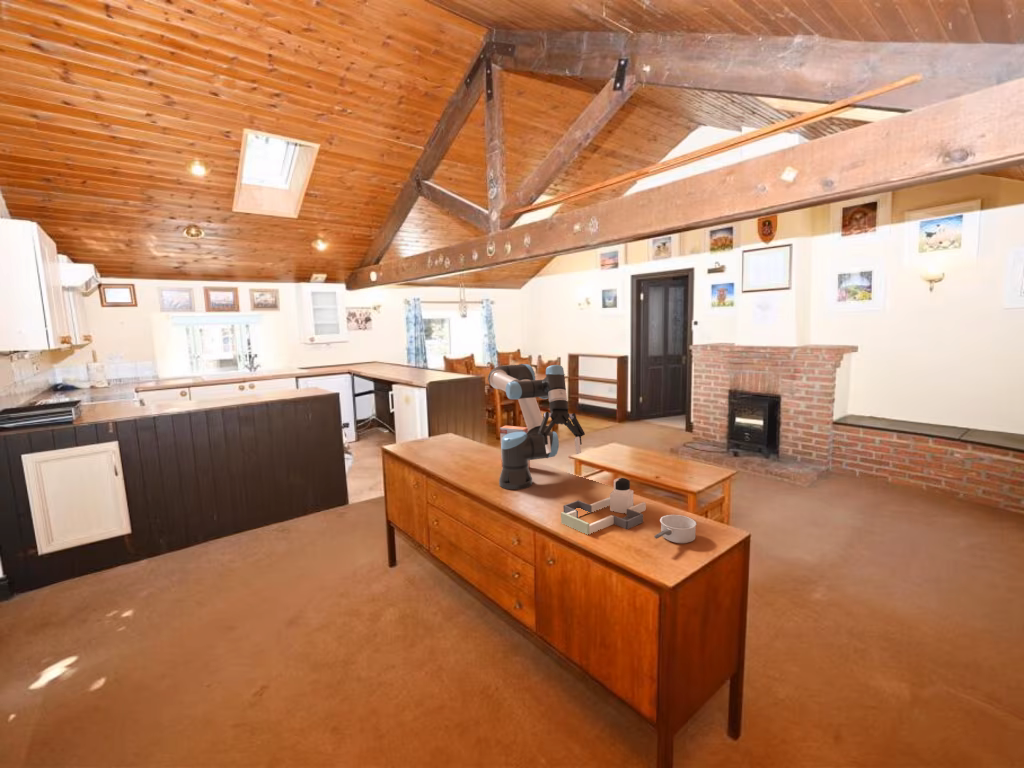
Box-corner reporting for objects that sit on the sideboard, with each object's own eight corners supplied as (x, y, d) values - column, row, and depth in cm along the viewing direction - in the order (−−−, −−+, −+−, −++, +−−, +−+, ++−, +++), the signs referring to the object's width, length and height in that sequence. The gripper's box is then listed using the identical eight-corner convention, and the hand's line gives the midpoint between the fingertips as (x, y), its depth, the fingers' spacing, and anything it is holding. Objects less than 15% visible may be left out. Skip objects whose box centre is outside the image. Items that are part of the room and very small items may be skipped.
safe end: (563, 522, 167) (562, 511, 167) (589, 534, 157) (589, 523, 156) (561, 523, 167) (560, 512, 166) (587, 535, 156) (587, 524, 156)
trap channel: (607, 496, 190) (607, 489, 190) (659, 514, 171) (659, 507, 170) (551, 517, 172) (551, 509, 172) (602, 540, 152) (602, 531, 152)
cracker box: (530, 467, 235) (529, 427, 232) (524, 470, 230) (523, 429, 227) (507, 463, 242) (506, 424, 240) (501, 466, 237) (499, 427, 234)
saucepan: (639, 547, 147) (639, 530, 146) (670, 527, 161) (670, 511, 160) (673, 559, 139) (673, 541, 138) (702, 537, 152) (703, 521, 152)
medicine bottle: (633, 507, 178) (633, 477, 177) (628, 514, 172) (628, 483, 171) (615, 504, 182) (615, 475, 180) (609, 511, 176) (609, 481, 174)
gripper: (534, 397, 180) (539, 450, 173) (589, 400, 190) (595, 451, 183) (526, 402, 186) (531, 454, 179) (579, 406, 196) (585, 455, 189)
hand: (563, 453), depth 181 cm, fingers open, 13 cm apart
